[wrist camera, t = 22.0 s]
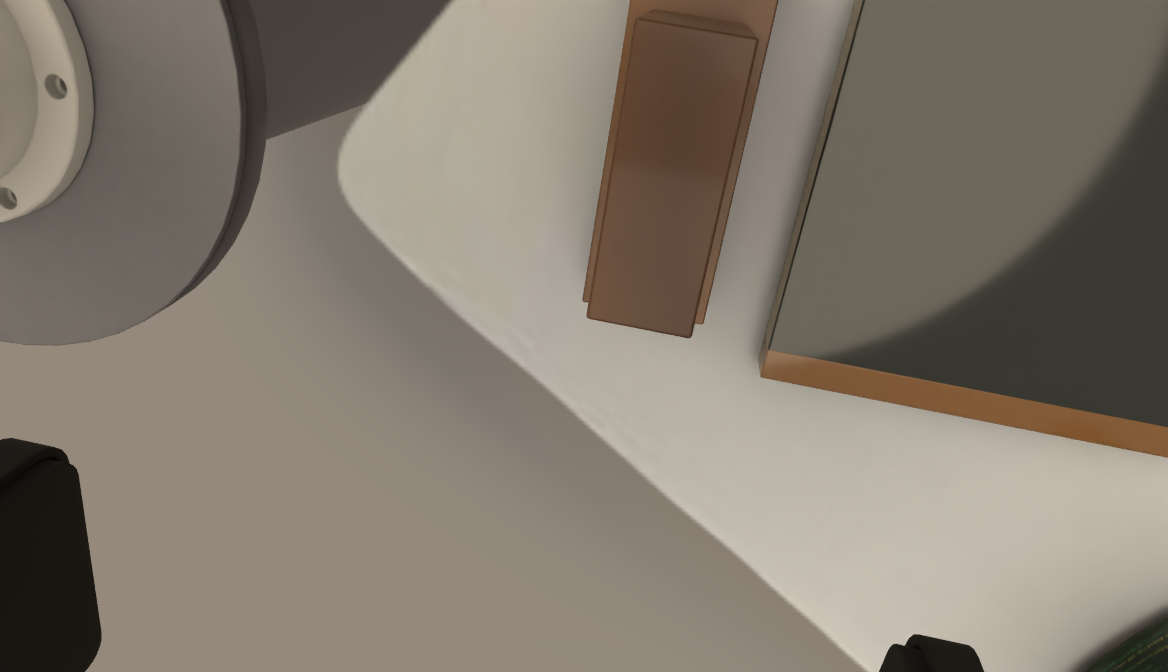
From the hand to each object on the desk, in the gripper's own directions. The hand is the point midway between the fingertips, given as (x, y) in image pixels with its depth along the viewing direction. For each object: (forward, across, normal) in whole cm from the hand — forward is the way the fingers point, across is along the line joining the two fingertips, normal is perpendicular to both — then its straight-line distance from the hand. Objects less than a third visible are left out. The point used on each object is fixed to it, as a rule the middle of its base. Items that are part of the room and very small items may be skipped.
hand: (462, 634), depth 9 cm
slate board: (+22, -14, -5) cm, 27 cm away
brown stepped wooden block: (+22, -1, -2) cm, 22 cm away
